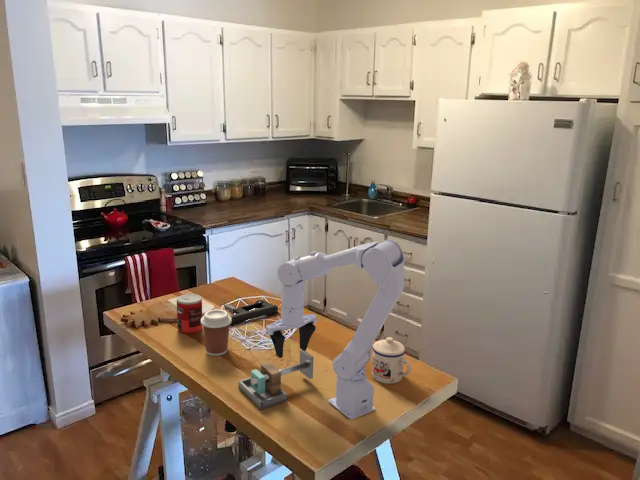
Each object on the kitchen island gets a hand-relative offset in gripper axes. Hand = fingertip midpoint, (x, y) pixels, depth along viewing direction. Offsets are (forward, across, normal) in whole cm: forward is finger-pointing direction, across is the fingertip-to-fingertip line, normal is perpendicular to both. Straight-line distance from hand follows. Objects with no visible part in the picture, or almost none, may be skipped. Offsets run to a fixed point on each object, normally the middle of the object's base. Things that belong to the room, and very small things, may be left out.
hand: (291, 352), depth 139 cm
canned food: (+10, +10, -46) cm, 48 cm away
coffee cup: (+10, +8, -28) cm, 31 cm away
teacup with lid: (+10, -26, +12) cm, 30 cm away
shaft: (+8, +3, 0) cm, 8 cm away
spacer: (+8, +10, 0) cm, 13 cm away
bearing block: (+9, +6, 0) cm, 11 cm away
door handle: (+10, -12, -49) cm, 51 cm away
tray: (+9, +9, 0) cm, 13 cm away
